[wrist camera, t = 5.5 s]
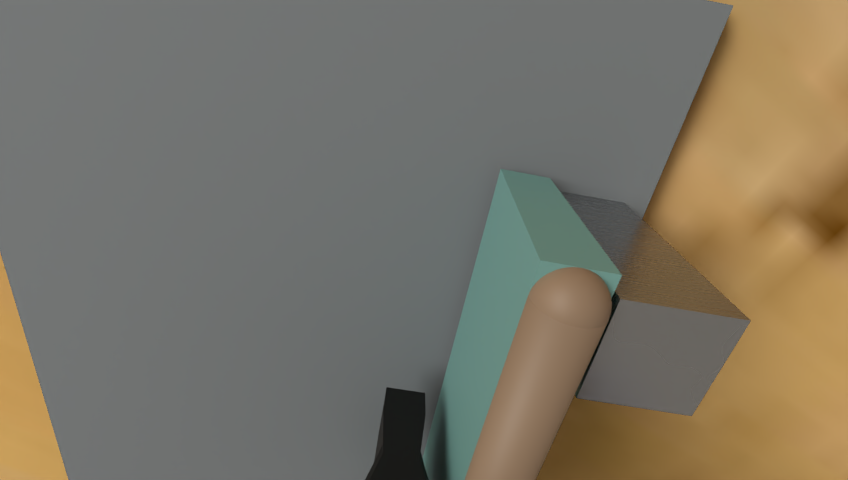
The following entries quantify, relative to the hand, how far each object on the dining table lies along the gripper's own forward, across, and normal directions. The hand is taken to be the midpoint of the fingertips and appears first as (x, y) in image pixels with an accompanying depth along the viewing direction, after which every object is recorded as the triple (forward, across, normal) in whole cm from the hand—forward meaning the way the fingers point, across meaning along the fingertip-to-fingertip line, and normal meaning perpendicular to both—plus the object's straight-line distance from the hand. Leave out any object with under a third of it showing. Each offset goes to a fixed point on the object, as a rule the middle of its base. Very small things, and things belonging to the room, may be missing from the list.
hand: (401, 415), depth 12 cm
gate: (+1, -2, -1) cm, 2 cm away
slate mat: (+2, +3, -1) cm, 4 cm away
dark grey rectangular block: (+2, -4, -6) cm, 7 cm away
